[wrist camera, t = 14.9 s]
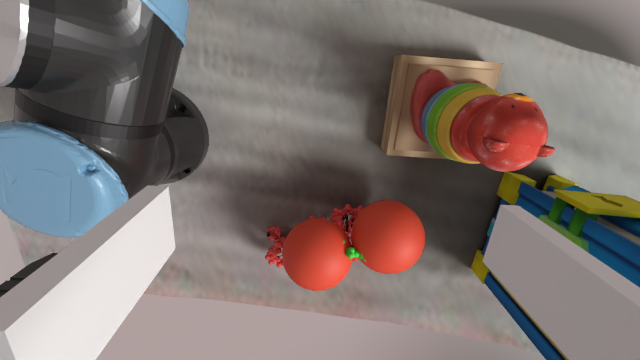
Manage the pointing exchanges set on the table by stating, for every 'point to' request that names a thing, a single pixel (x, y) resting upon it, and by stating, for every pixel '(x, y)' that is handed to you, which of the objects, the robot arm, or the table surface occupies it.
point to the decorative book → (568, 237)
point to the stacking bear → (478, 123)
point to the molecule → (349, 243)
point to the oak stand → (404, 75)
